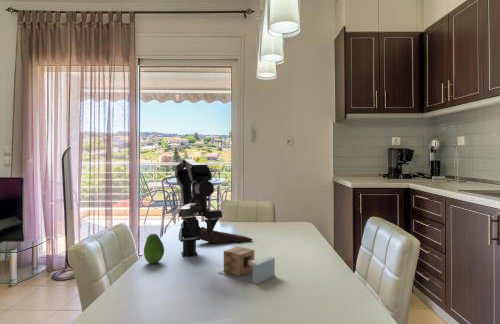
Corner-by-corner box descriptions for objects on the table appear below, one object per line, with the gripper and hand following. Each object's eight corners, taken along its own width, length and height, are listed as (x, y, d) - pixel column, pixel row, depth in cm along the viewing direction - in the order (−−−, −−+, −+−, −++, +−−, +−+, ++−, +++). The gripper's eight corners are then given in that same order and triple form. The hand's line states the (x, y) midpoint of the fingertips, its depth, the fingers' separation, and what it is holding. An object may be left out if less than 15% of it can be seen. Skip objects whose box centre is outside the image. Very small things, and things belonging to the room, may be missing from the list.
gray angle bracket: (217, 273, 130) (217, 255, 130) (237, 265, 138) (237, 249, 138) (256, 284, 118) (256, 265, 118) (275, 275, 127) (275, 257, 127)
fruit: (168, 261, 145) (167, 232, 144) (158, 267, 137) (157, 236, 137) (150, 259, 147) (150, 231, 147) (139, 265, 139) (139, 235, 139)
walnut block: (223, 271, 130) (223, 250, 130) (238, 266, 136) (237, 246, 136) (240, 276, 125) (240, 254, 125) (254, 270, 131) (254, 249, 131)
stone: (193, 237, 169) (202, 217, 171) (192, 235, 176) (201, 216, 177) (245, 259, 174) (254, 240, 176) (243, 257, 180) (251, 238, 182)
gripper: (167, 196, 138) (168, 237, 137) (201, 197, 126) (202, 241, 125) (188, 195, 146) (189, 233, 146) (222, 195, 135) (223, 236, 134)
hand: (200, 236), depth 137 cm, fingers open, 9 cm apart
